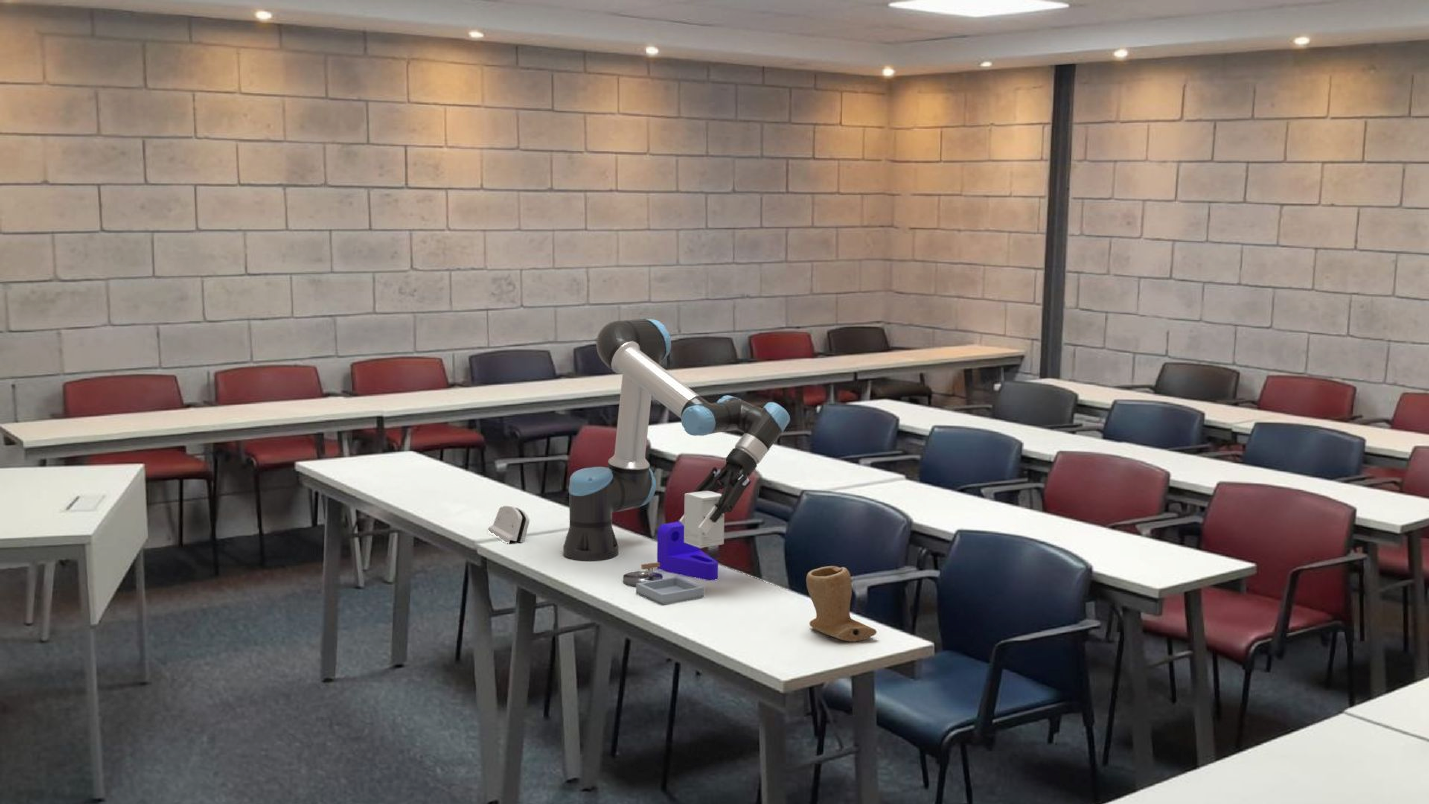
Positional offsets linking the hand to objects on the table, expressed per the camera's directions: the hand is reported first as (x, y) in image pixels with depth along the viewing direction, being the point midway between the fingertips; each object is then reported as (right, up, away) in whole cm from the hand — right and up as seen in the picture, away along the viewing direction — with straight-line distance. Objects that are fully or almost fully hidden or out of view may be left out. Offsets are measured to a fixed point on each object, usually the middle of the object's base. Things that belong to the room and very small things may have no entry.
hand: (692, 527), depth 316 cm
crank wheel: (-13, -15, +11) cm, 22 cm away
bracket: (0, -14, +21) cm, 25 cm away
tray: (-6, -17, -1) cm, 17 cm away
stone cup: (+32, -21, -30) cm, 49 cm away
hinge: (-54, -9, +57) cm, 79 cm away
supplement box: (+3, -5, +3) cm, 6 cm away
